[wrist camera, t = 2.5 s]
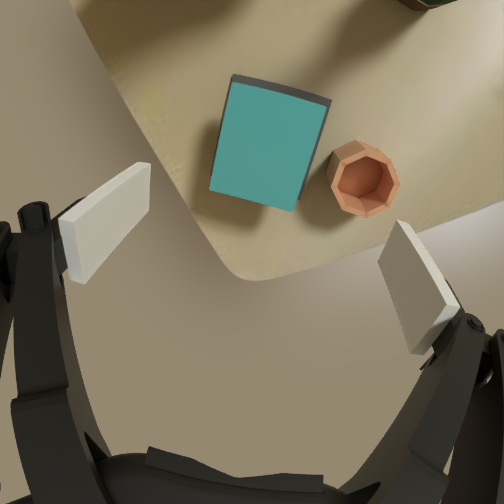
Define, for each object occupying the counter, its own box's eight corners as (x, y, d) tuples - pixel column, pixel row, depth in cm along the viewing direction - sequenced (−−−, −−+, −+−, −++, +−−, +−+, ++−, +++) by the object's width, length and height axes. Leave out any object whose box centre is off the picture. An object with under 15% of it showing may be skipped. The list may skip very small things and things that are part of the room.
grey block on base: (211, 175, 44) (200, 188, 39) (233, 73, 35) (224, 72, 30) (299, 198, 44) (300, 215, 39) (331, 99, 35) (338, 102, 30)
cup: (319, 188, 43) (324, 204, 38) (338, 134, 38) (346, 142, 33) (372, 206, 43) (382, 223, 38) (393, 155, 38) (407, 166, 33)
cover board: (212, 184, 38) (208, 190, 37) (235, 82, 31) (232, 82, 29) (292, 205, 39) (292, 212, 37) (324, 105, 31) (326, 107, 29)
